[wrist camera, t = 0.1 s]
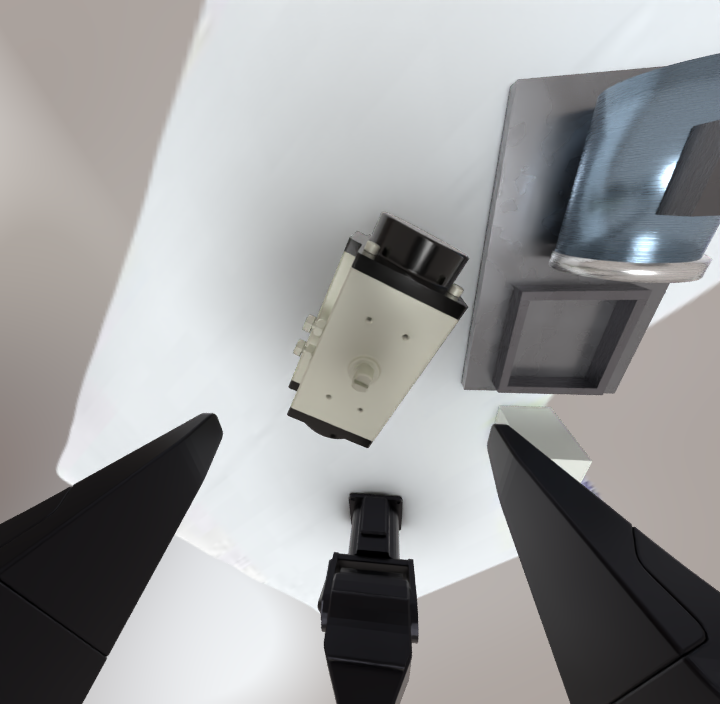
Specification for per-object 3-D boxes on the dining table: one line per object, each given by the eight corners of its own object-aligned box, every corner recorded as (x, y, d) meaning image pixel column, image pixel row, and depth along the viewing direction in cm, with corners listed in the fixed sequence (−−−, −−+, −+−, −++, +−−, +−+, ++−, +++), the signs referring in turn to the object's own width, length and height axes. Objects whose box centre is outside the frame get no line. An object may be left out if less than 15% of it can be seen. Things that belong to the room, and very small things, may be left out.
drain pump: (535, 445, 28) (578, 518, 21) (489, 443, 28) (517, 513, 22) (550, 407, 25) (603, 475, 19) (499, 405, 26) (534, 471, 19)
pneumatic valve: (443, 237, 19) (505, 281, 9) (370, 363, 25) (355, 482, 14) (372, 200, 19) (347, 198, 8) (313, 338, 24) (254, 443, 14)
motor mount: (606, 386, 23) (703, 470, 16) (461, 383, 25) (491, 459, 17) (758, 64, 14) (1167, -87, 7) (510, 86, 15) (621, -21, 8)
